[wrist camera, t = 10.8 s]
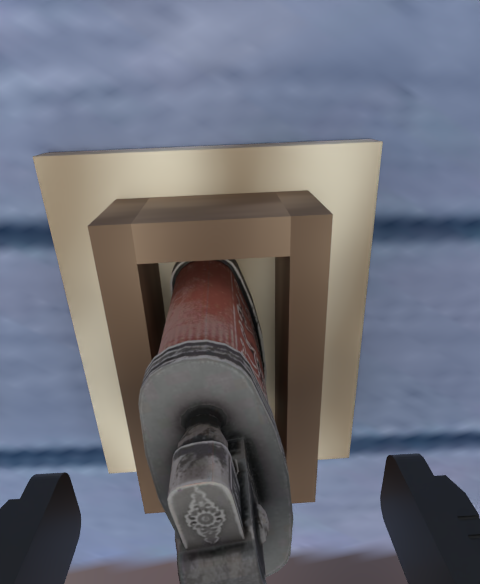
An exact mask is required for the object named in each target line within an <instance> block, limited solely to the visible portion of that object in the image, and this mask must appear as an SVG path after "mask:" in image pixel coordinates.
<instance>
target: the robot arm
mask: <svg viewBox="0 0 480 584" xmlns="http://www.w3.org/2000/svg"><path fill="white" fill-rule="evenodd" d="M380 501H381V510H382V515H383V519H384V522H385V525H386V527H387V530H388V532H389V535H390V538H391V540H392V543H393V545H394V548H395V551H396V553H397V556H398V558H399V561H400V564H401V566H402V569H403V571H404V574H405V576H406V579H407V582H408V584H480V518H479V514H478V513H477V511H476V509H475V508H474V506H473V505H472V503H471V501H470V500H469V498H468V497H467V495H466V493H465V492H463V491H462V490H461V489H460V488H459V487H458V486H457V485H456V484H455V483H454V482H452V481H451V480H450V479H449V478H448V477H447V476H446V475H442V476H434V475H433V473H432V471H431V470H430V468H429V466H428V464H427V463H426V461H425V459H424V458H423V457H422V456H421V455H420V454H400V455H389V456H388V457H387V460H386V465H385V471H384V478H383V484H382V490H381V497H380ZM80 529H81V514H80V510H79V506H78V503H77V500H76V496H75V493H74V490H73V486H72V483H71V480H70V477H69V475H68V474H67V473H50V474H36V475H34V476H32V477H31V479H30V480H29V482H28V484H27V486H26V488H25V490H24V492H23V494H22V496H21V498H20V499H12V500H8V501H7V502H6V503H5V504H4V505H3V506H2V507H1V508H0V584H64V582H65V579H66V576H67V573H68V570H69V567H70V564H71V561H72V558H73V555H74V552H75V549H76V546H77V543H78V539H79V535H80Z"/></svg>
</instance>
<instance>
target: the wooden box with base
mask: <svg viewBox="0 0 480 584" xmlns="http://www.w3.org/2000/svg"><path fill="white" fill-rule="evenodd" d="M382 143H383V142H382V141H377V140H373V139H358V140H334V141H311V142H287V143H264V144H240V145H217V146H193V147H170V148H146V149H123V150H99V151H76V152H52V153H44V154H40V155H37V156H33V160H34V164H35V168H36V172H37V177H38V181H39V185H40V189H41V193H42V197H43V201H44V206H45V210H46V214H47V218H48V222H49V226H50V231H51V235H52V239H53V243H54V247H55V251H56V255H57V260H58V264H59V268H60V272H61V276H62V280H63V284H64V289H65V293H66V297H67V301H68V305H69V309H70V313H71V318H72V322H73V326H74V330H75V334H76V338H77V343H78V347H79V351H80V355H81V359H82V363H83V367H84V372H85V376H86V380H87V384H88V388H89V392H90V396H91V401H92V405H93V409H94V413H95V417H96V421H97V425H98V430H99V434H100V438H101V442H102V446H103V450H104V454H105V459H106V463H107V467H108V471H109V473H124V472H137V476H138V481H139V486H140V491H141V496H142V501H143V506H144V511H145V514H146V513H160V512H165V511H164V509H163V507H162V505H161V503H160V501H159V499H158V495H157V492H156V489H155V485H154V482H153V479H152V475H151V472H150V469H149V465H148V462H147V459H146V455H145V449H144V442H143V434H142V427H141V420H140V412H139V405H138V403H139V395H140V389H141V385H142V382H143V378H144V374H145V371H146V369H147V367H148V366H149V364H150V363H151V361H152V360H153V358H154V357H155V356H157V355H158V352H159V348H160V344H161V340H162V335H163V331H164V327H165V323H166V319H167V314H168V310H169V306H170V302H171V291H170V281H171V274H172V271H173V267H174V265H175V263H176V262H187V261H207V260H227V259H235V260H236V261H237V263H238V265H239V267H240V270H241V272H242V274H243V277H244V279H245V281H246V284H247V286H248V288H249V291H250V293H251V295H252V299H253V302H254V306H255V309H256V313H257V316H258V320H259V323H260V327H261V331H262V337H263V344H264V353H265V362H266V371H267V376H266V390H267V396H268V402H269V405H270V407H271V410H272V413H273V416H274V420H275V423H276V426H277V430H278V433H279V436H280V440H281V443H282V446H283V450H284V453H285V458H286V463H287V468H288V473H289V481H290V491H291V501H292V503H306V502H315V494H316V478H317V462H318V460H321V459H337V458H349V452H350V443H351V434H352V424H353V415H354V405H355V396H356V387H357V377H358V368H359V358H360V349H361V340H362V330H363V321H364V312H365V302H366V293H367V283H368V274H369V265H370V255H371V246H372V237H373V227H374V218H375V208H376V199H377V190H378V180H379V171H380V162H381V152H382Z"/></svg>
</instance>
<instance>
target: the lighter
mask: <svg viewBox="0 0 480 584" xmlns="http://www.w3.org/2000/svg"><path fill="white" fill-rule="evenodd" d="M170 291H171V302H170V306H169V310H168V314H167V319H166V323H165V327H164V331H163V335H162V340H161V344H160V348H159V352H158V355H157V356H155V357H154V358H153V360H152V361H151V363H150V364H149V366H148V367H147V369H146V371H145V374H144V378H143V382H142V385H141V389H140V395H139V403H138V405H139V412H140V420H141V427H142V434H143V442H144V449H145V455H146V459H147V462H148V465H149V469H150V472H151V475H152V479H153V482H154V485H155V489H156V492H157V495H158V499H159V501H160V503H161V505H162V507H163V509H164V511H165V513H166V515H167V516H168V518H169V520H170V522H171V524H172V526H173V528H174V530H175V542H176V549H177V566H178V575H179V581H180V584H266V580H265V578H266V577H267V576H269V575H271V574H273V573H275V572H277V571H278V570H280V568H282V567H283V566H284V565H285V564H286V563H287V561H288V559H289V556H290V551H291V539H292V526H293V512H292V501H291V491H290V481H289V473H288V468H287V463H286V458H285V453H284V450H283V446H282V443H281V440H280V436H279V433H278V430H277V426H276V423H275V420H274V416H273V413H272V410H271V407H270V405H269V402H268V396H267V390H266V376H267V371H266V362H265V353H264V344H263V337H262V331H261V327H260V323H259V320H258V316H257V313H256V309H255V306H254V302H253V299H252V295H251V293H250V291H249V288H248V286H247V284H246V281H245V279H244V277H243V274H242V272H241V270H240V267H239V265H238V263H237V261H236V260H235V259H227V260H207V261H187V262H176V263H175V265H174V267H173V271H172V274H171V281H170Z"/></svg>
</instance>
